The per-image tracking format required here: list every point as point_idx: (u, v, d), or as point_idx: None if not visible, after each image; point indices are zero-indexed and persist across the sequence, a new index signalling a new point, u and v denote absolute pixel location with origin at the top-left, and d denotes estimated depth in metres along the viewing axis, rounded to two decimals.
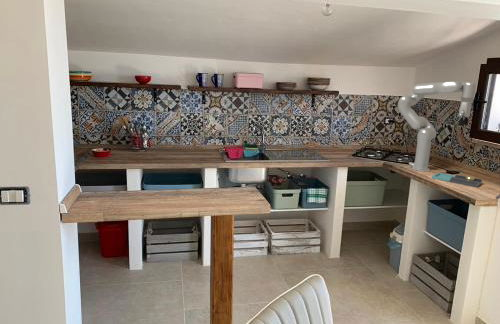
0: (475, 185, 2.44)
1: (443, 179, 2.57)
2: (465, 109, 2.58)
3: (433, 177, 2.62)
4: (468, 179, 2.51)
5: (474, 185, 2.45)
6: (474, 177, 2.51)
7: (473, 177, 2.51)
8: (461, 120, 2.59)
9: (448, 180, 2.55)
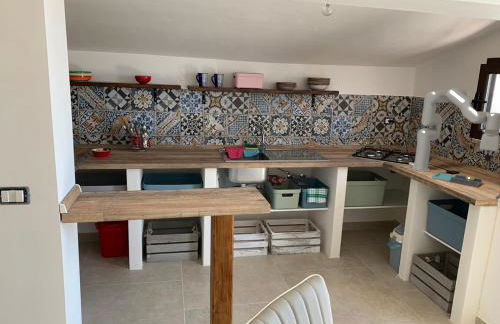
0: (475, 185, 2.44)
1: (443, 179, 2.57)
2: None
3: (433, 177, 2.62)
4: (468, 179, 2.51)
5: (474, 185, 2.45)
6: (474, 177, 2.51)
7: (473, 177, 2.51)
8: None
9: (448, 180, 2.55)
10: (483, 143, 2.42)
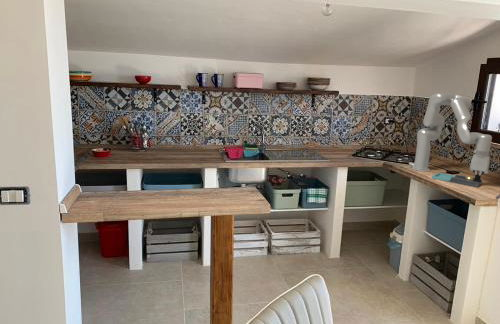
0: (475, 185, 2.44)
1: (443, 179, 2.57)
2: None
3: (433, 177, 2.62)
4: (468, 179, 2.51)
5: (474, 185, 2.45)
6: (474, 177, 2.51)
7: (473, 177, 2.51)
8: (480, 175, 2.48)
9: (448, 180, 2.55)
10: (473, 163, 2.47)
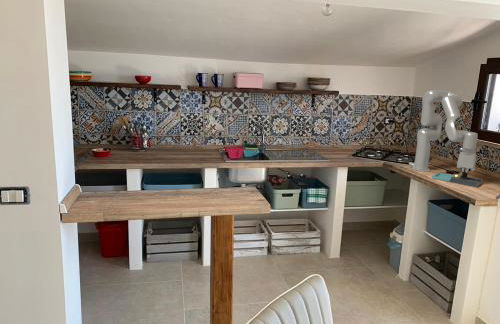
0: (475, 185, 2.44)
1: (443, 179, 2.57)
2: (475, 160, 2.49)
3: (433, 177, 2.62)
4: (456, 177, 2.55)
5: (474, 185, 2.45)
6: (461, 175, 2.56)
7: (460, 175, 2.56)
8: (467, 172, 2.53)
9: (448, 180, 2.55)
10: (460, 161, 2.52)
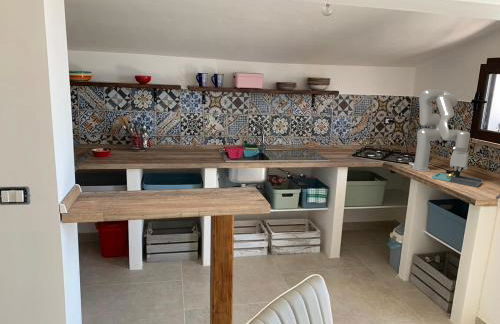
0: (475, 185, 2.44)
1: (443, 179, 2.57)
2: None
3: (433, 177, 2.62)
4: (449, 176, 2.58)
5: (474, 185, 2.45)
6: None
7: None
8: None
9: (448, 180, 2.55)
10: (453, 160, 2.55)
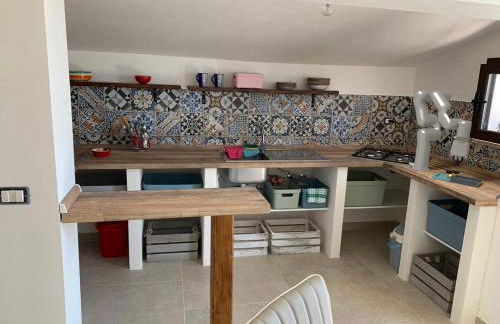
0: (475, 185, 2.44)
1: (443, 179, 2.57)
2: (468, 148, 2.52)
3: (433, 177, 2.62)
4: (449, 176, 2.58)
5: (474, 185, 2.45)
6: None
7: (452, 173, 2.59)
8: (460, 160, 2.55)
9: (448, 180, 2.55)
10: (453, 149, 2.54)
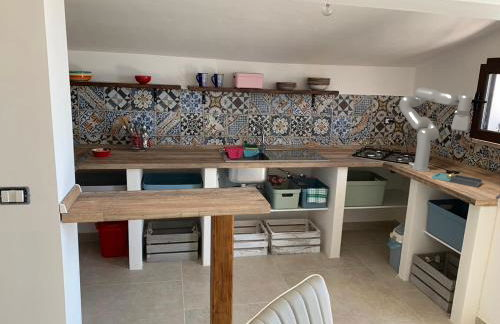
0: (475, 185, 2.44)
1: (443, 179, 2.57)
2: (469, 122, 2.57)
3: (433, 177, 2.62)
4: (449, 176, 2.58)
5: (474, 185, 2.45)
6: (453, 173, 2.59)
7: (452, 173, 2.59)
8: (461, 135, 2.60)
9: (448, 180, 2.55)
10: (454, 123, 2.59)
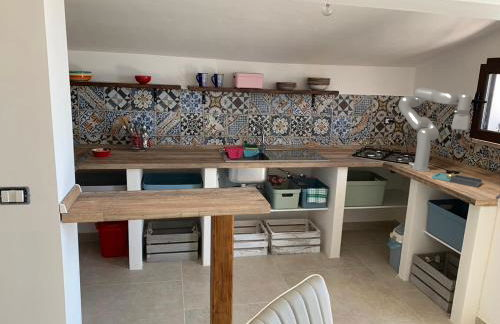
0: (475, 185, 2.44)
1: (443, 179, 2.57)
2: (469, 122, 2.57)
3: (433, 177, 2.62)
4: (449, 176, 2.58)
5: (474, 185, 2.45)
6: (453, 173, 2.59)
7: (452, 173, 2.59)
8: (461, 134, 2.60)
9: (448, 180, 2.55)
10: (455, 123, 2.60)
